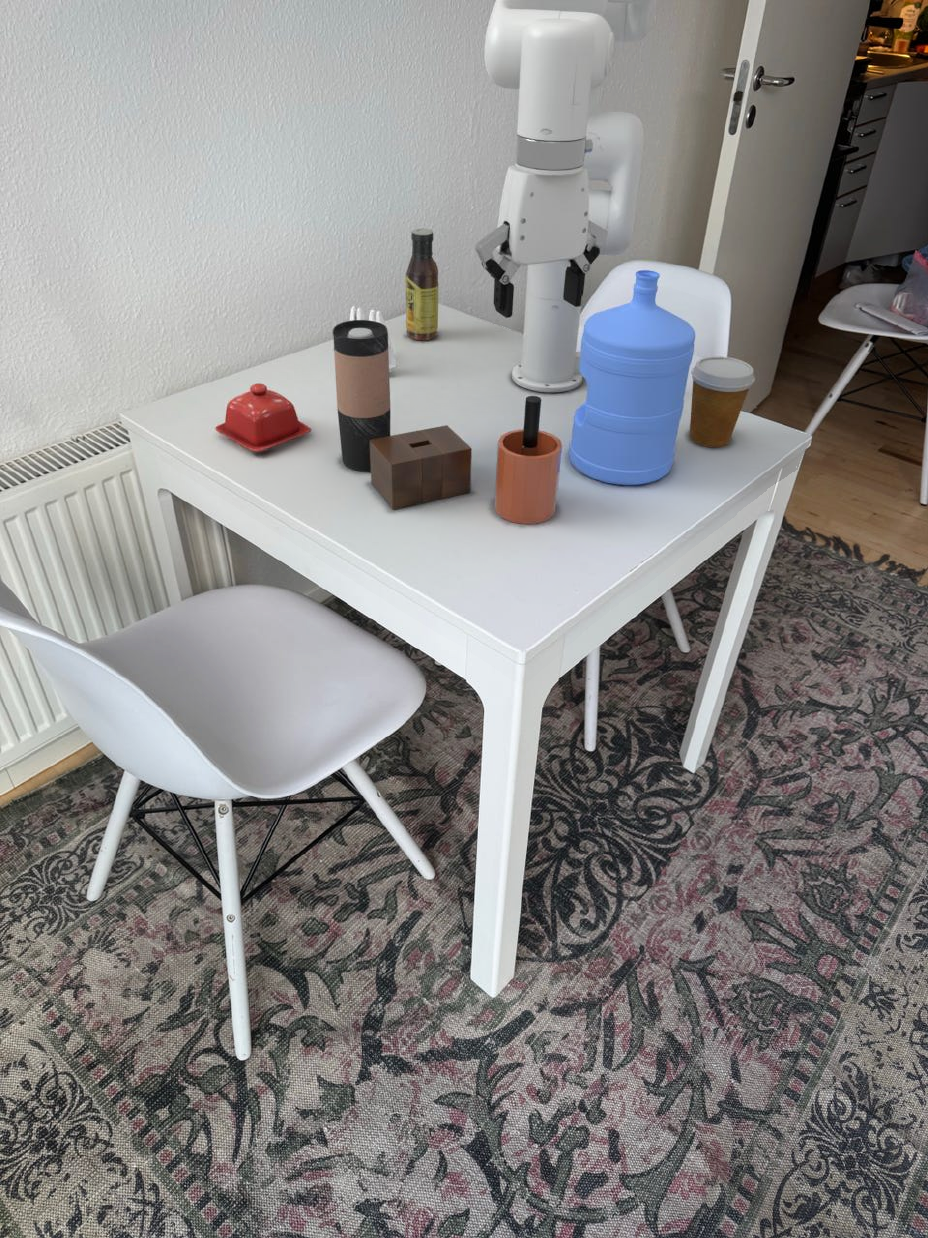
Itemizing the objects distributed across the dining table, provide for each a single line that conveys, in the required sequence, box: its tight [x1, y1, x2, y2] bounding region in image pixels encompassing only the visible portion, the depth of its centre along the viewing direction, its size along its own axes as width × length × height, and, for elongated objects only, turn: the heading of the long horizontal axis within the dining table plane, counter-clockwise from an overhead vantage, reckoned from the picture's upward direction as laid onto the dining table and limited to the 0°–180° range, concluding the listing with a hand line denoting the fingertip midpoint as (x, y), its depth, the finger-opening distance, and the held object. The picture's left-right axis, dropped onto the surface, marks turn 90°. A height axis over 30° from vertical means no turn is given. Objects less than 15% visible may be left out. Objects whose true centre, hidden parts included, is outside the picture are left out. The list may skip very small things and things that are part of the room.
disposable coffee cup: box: [689, 355, 756, 448], centre depth 139 cm, size 10×10×12 cm
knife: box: [521, 395, 542, 456], centre depth 118 cm, size 2×2×16 cm
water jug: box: [568, 269, 696, 486], centre depth 127 cm, size 16×16×28 cm
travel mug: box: [332, 319, 391, 472], centre depth 128 cm, size 8×8×20 cm
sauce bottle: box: [405, 227, 439, 341], centre depth 169 cm, size 7×6×20 cm
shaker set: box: [349, 305, 399, 374], centre depth 159 cm, size 12×4×11 cm, turn 36°
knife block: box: [370, 424, 472, 511], centre depth 125 cm, size 12×8×7 cm, turn 116°
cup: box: [494, 428, 563, 525], centre depth 121 cm, size 8×8×10 cm
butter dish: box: [214, 383, 312, 453], centre depth 137 cm, size 12×12×8 cm
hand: (538, 308), depth 109 cm, fingers open, 9 cm apart
